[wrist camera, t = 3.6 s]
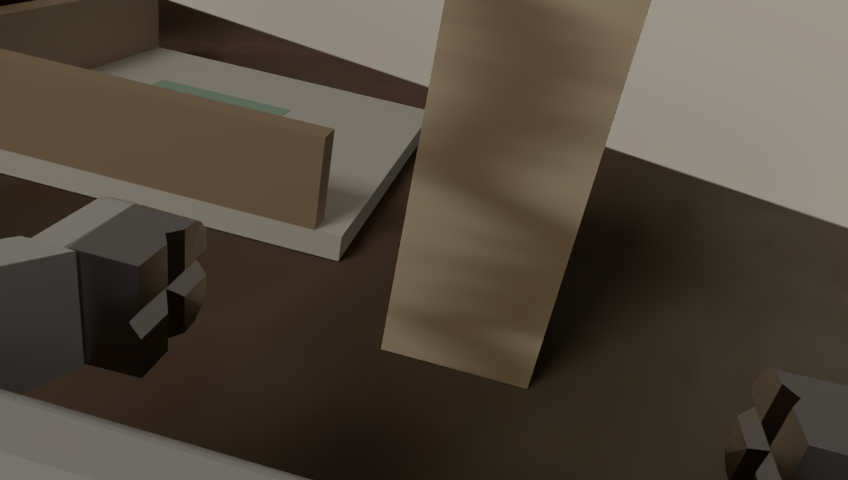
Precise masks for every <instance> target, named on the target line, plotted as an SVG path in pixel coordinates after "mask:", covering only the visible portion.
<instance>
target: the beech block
mask: <svg viewBox="0 0 848 480" xmlns="http://www.w3.org/2000/svg"><path fill="white" fill-rule="evenodd" d="M650 3H651V0H445V2H444V8H443V13H442V19H441V24H440V30H439V35H438V40H437V46H436V52H435V57H434V63H433V68H432V73H431V79H430V84H429V90H428V95H427V100H426V106H425V111H424V117H423V122H422V128H421V133H420V139H419V144H418V150H417V155H416V161H415V166H414V172H413V177H412V183H411V188H410V194H409V199H408V204H407V210H406V215H405V221H404V226H403V232H402V237H401V243H400V248H399V254H398V259H397V265H396V270H395V276H394V281H393V287H392V292H391V297H390V303H389V308H388V314H387V319H386V325H385V330H384V336H383V341H382V347H381V349H382V350H386V351H390V352H393V353H397V354H401V355H404V356H408V357H412V358H415V359H419V360H423V361H426V362H430V363H434V364H437V365H441V366H445V367H448V368H452V369H455V370H459V371H463V372H466V373H470V374H474V375H477V376H481V377H485V378H488V379H492V380H496V381H499V382H503V383H507V384H510V385H514V386H518V387H521V388H525V389H528V385H529V382H530V379H531V376H532V373H533V370H534V367H535V364H536V360H537V357H538V354H539V351H540V348H541V345H542V342H543V338H544V335H545V332H546V329H547V326H548V323H549V320H550V317H551V313H552V310H553V307H554V304H555V301H556V298H557V295H558V291H559V288H560V285H561V282H562V279H563V276H564V273H565V269H566V266H567V263H568V260H569V257H570V254H571V251H572V248H573V244H574V241H575V238H576V235H577V232H578V229H579V226H580V222H581V219H582V216H583V213H584V210H585V207H586V204H587V201H588V197H589V194H590V191H591V188H592V185H593V182H594V179H595V175H596V172H597V169H598V166H599V163H600V160H601V157H602V154H603V150H604V147H605V144H606V141H607V138H608V135H609V131H610V128H611V125H612V122H613V119H614V116H615V113H616V110H617V106H618V103H619V100H620V97H621V94H622V91H623V88H624V84H625V81H626V78H627V75H628V72H629V69H630V66H631V63H632V59H633V56H634V53H635V50H636V47H637V43H638V41H639V38H640V34H641V31H642V28H643V25H644V21H645V19H646V16H647V12H648V9H649V6H650Z"/></svg>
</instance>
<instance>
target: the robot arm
mask: <svg viewBox="0 0 848 480" xmlns="http://www.w3.org/2000/svg"><path fill="white" fill-rule="evenodd" d="M206 250H207V229H206V228H205V226H204V225H203V223H202V222H201V221H198V220H194V219H191V218H187V217H183V216H180V215H176V214H173V213H169V212H165V211H162V210H158V209H155V208H151V207H147V206H144V205H139V204H137V203H134V202H130V201H126V200H122V199H117V198H113V197H105V196H101V197H100V198H98V199H96V200H95V201H93V202H91V203H90V204H88V205H86V206H85V207H83V208H81V209H79V210H78V211H76V212H74V213H73V214H71V215H69V216H68V217H66V218H64V219H63V220H61V221H59V222H58V223H56V224H54V225H53V226H51V227H49V228H47V229H46V230H44V231H42V232H41V233H39V234H37V235H36V236H34V237H32V238H31V239H30V238H26V237H22V236H17V237H11V238H5V239H0V480H311V479H308V478H305V477H301V476H298V475H294V474H291V473H287V472H284V471H281V470H277V469H274V468H270V467H267V466H264V465H260V464H257V463H253V462H250V461H246V460H243V459H240V458H236V457H233V456H229V455H226V454H223V453H219V452H216V451H212V450H209V449H205V448H202V447H199V446H195V445H192V444H188V443H185V442H182V441H178V440H175V439H171V438H168V437H164V436H161V435H158V434H154V433H151V432H147V431H144V430H140V429H137V428H134V427H130V426H127V425H123V424H120V423H117V422H113V421H110V420H106V419H103V418H99V417H96V416H93V415H89V414H86V413H82V412H79V411H76V410H72V409H69V408H65V407H62V406H58V405H55V404H52V403H48V402H45V401H41V400H38V399H35V398H31V397H28V396H24V395H21V394H23V393H25V392H27V391H30V390H32V389H34V388H37V387H39V386H41V385H43V384H46V383H48V382H50V381H53V380H55V379H57V378H59V377H62V376H64V375H66V374H69V373H71V372H73V371H76V370H78V369H80V368H82V367H84V366H85V365H84V364H88V365H92V366H96V367H100V368H104V369H108V370H112V371H115V372H119V373H123V374H127V375H131V376H135V377H139V378H143V377H144V375H145V374H146V373H147V372H148V371H149V370H150V369H151V368H152V367H153V366H154V365H155V364H156V363H157V362H158V361H159V359H160V358H161V357H162V356H163V355H164V354H165V353H166V352H167V351H168V338H171V337H174V336H177V335H180V334H183V333H185V331H186V330H187V329H188V328H189V327H190V326H191V325H192V323H193V322H194V321H195V319H196V317H197V315H198V313H199V310H200V308H201V306H202V304H203V299H204V295H205V290H206V274H205V272H204V271H203V269H202V267H201V266H200V264H199V262H198V261H197V259H198V258H199V257H200V256H201V255H202V254H203V253H204V252H205V251H206ZM750 392H751V395H752V398H753V401H754V404H755V407H753V408H751V409H749V410H748V411H746V412H744V413H742V414H740V415H738V416H737V418H736V420H735V422H734V424H733V426H732V429H731V431H730V433H729V436H728V441H727V446H726V451H725V468H726V472H727V476H728V480H848V386H844V385H840V384H835V383H831V382H827V381H823V380H818V379H814V378H810V377H805V376H801V375H797V374H792V373H788V372H784V371H780V370H775V369H769V368H766V369H765V370H764V371H763V372H762V373H761V374H760V375H759V376H758V377H757V379H756V381H755V383H754V385H753V387H752V388H751V390H750Z"/></svg>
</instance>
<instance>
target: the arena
mask: <svg viewBox="0 0 848 480" xmlns="http://www.w3.org/2000/svg"><path fill="white" fill-rule="evenodd" d="M424 111H425V110H423V109H419V108H415V107H411V106H406V105H402V104H398V103H394V102H389V101H385V100H381V99H377V98H372V97H368V96H364V95H360V94H355V93H351V92H347V91H343V90H338V89H334V88H330V87H326V86H321V85H317V84H313V83H309V82H304V81H300V80H296V79H291V78H287V77H283V76H279V75H274V74H270V73H266V72H262V71H257V70H253V69H249V68H245V67H240V66H236V65H232V64H228V63H223V62H219V61H215V60H211V59H206V58H202V57H198V56H194V55H189V54H185V53H181V52H177V51H172V50H168V49H164V48H160V47H159V16H158V0H35V1H29V2H23V3H17V4H11V5H5V6H0V173H3V174H7V175H10V176H14V177H18V178H22V179H26V180H29V181H33V182H37V183H41V184H45V185H49V186H52V187H56V188H60V189H64V190H68V191H72V192H75V193H79V194H83V195H87V196H91V197H94V198H100V197H101V196H105V197H113V198H117V199H122V200H126V201H130V202H134V203H137V204H139V205H144V206H147V207H151V208H155V209H158V210H162V211H165V212H169V213H173V214H176V215H180V216H183V217H187V218H191V219H194V220H198V221H201V222H202V223H203V225H204V226H205V227H209V228H213V229H217V230H221V231H224V232H228V233H232V234H236V235H240V236H243V237H247V238H251V239H255V240H259V241H263V242H266V243H270V244H274V245H278V246H282V247H286V248H289V249H293V250H297V251H301V252H305V253H308V254H312V255H316V256H320V257H324V258H328V259H331V260H335V261H339V259H340V258H341V257H342V255H343V254H344V252H345V251H346V249H347V248H348V246H349V245H350V243H351V242H352V240H353V239H354V238H355V236H356V235H357V233H358V232H359V230H360V229H361V227H362V226H363V224H364V223H365V221H366V220H367V219H368V217H369V216H370V214H371V213H372V211H373V210H374V208H375V207H376V205H377V204H378V202H379V201H380V200H381V198H382V197H383V195H384V194H385V192H386V191H387V189H388V188H389V186H390V185H391V183H392V182H393V181H394V179H395V178H396V176H397V175H398V173H399V172H400V170H401V169H402V167H403V166H404V164H405V163H406V162H407V160H408V159H409V157H410V156H411V154H412V153H413V151H414V150H415V148H416V147H417V145H418V144H419V139H420V133H421V128H422V122H423V117H424Z"/></svg>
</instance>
